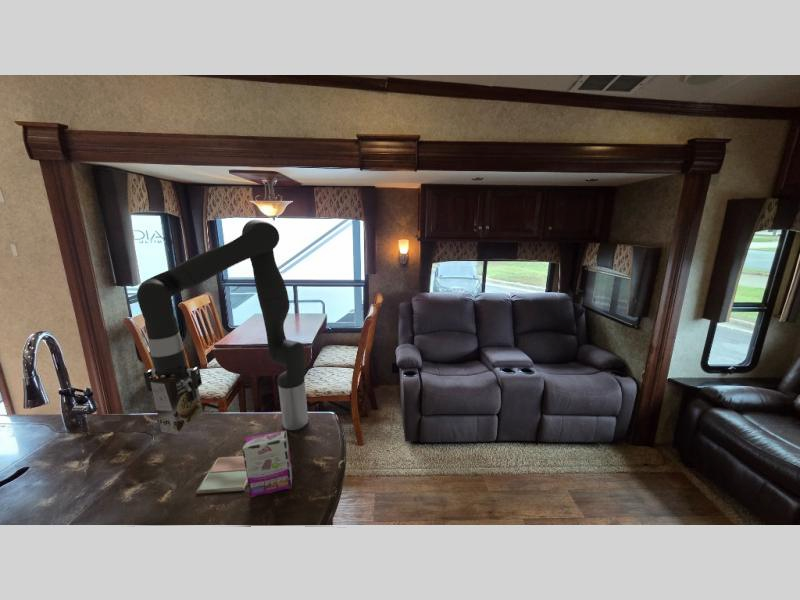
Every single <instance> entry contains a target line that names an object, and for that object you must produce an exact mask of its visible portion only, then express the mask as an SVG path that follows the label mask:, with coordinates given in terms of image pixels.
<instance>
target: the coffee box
mask: <svg viewBox="0 0 800 600" xmlns="http://www.w3.org/2000/svg"><path fill="white" fill-rule="evenodd" d="M189 378H191V376H189V373H187V375H185V376H184V378H182V377H179V378H171V377H167V378H165V379H160V378H158V377H156V379H155V380H154V381H152V382H150V383H151V387H152V391H151V392H152V395H153V399H154V405H155V408H156V413H157V417H158V421H159V425H160V426H159V427H160V431H161V432H163V433H169V434H175V435H180V434H181V433H183V432H185V430H187V429H188V428H189V427H191V426H192V425H193V424H194V423H196V422H197V421H198V420H200V419H202V417H204V410H203V405H202V401H201V396H200V391H199V390H200V389H199V387H198V388H197V389H196V393H197V398H196V399H195V400H194V401H193V402H189V399H188V394H187V390H186V389H185V388H184V387H182V386H181V382H180V380H183V381H184V382H185V381H186V380H187V379H189ZM191 380H192V379H191ZM188 384H189V382H188ZM189 385H190V384H189Z"/></svg>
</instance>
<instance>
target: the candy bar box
mask: <svg viewBox="0 0 800 600" xmlns="http://www.w3.org/2000/svg"><path fill="white" fill-rule="evenodd" d="M287 431H288V430H287V429H284V430H279V431H274V432H269V433H264V434H259V435H258V434H257V435H254V436H248V437H245V439H244V442H243V446H242V456H244V462H245V468H246V473H247V479H248V483H247V486H248V490H249V496H250V498H255V497H259V496H265V495H268V494H273V493H277V492H280V491H284V490H290V489H292V481H293V472H292V463H291V455H290V448H289V447H290V446H289V439H288V432H287Z"/></svg>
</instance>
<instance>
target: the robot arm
mask: <svg viewBox="0 0 800 600" xmlns="http://www.w3.org/2000/svg"><path fill="white" fill-rule="evenodd" d="M279 241H280V233H279V231H278V229H277V228H276V227H275V226H274V225H273V224H271V223H270V222H268V221H265V220H260V219H252V220H249V221H248V222H246V223H245V224H244V226H243V228H242V231H241V235H239V236H238V237H237V238H235V239H233V240H231V241H229V242H227V243H225V244H223V245H221V246H219V247H215V248H213V249H212V248H211V249H210V250H207V251H205V252H201V253H199V254H197V255H195V256H193V257H191V258H189V259H187V260H185V261H183V262H181V263H179V264H178V265H176V266H174V267H173V268H171V269H168V270H166V271H164V272H161V273H158V274H156V275H154V276H152V277H150V278H148V279H145V280H144V281H143V282H141V284H140V285H139V286H138V289H137V293H136V298H137V302H138V306H139V308H140V312H141V314H142V318H143V319H144V327H145V330H146V336H147V340H148V341H147V343H148V349H149V354H150V357H151V362H152V367H153V368H150V369H148V370H146V371H145V372H144V373H143V378H144V381H145V385H146V389H147V391H148V392H153V391H152V387H151V383H150V382H152V381H154V380H155V379H157V378H160V379H165V378H167V377H171V378H179V377H182V378H184V376H185V375H187V373H189V376H191V378H189V379H187V380H186V381H185V382H184V381H183V380H180V382H181V386H182V387H184V388H185V389H186V390H187V394H188V399H189V402H193V401H194V400H195V399H196V398H197V393H196V389H197V388H198V389H199V388H200V387H201V386H202V384H203V382H202V375H201V371H200V367H199V366H195V367H194V368H193V367H191V368H189V367H188V366H187V358H186V353H185V348H184V343H183V340H182V339H183V338H182V335H181V334H180V329H179V325H178V321H177V318H176V315H175V312H174V305H173V299H172V297H173V296H176V295H177V294H179V293H181V292H183V291H184V290H190V289H192V288H194V287H197V286H198V285H200V284H203V283H204V282H207V280H209V279H211V278H212V277H215V276H216V275H218V274H220V273H222V272H223V271H226V270H228V269H229V268H231V267H234V266H235V265H237V264H240V263H242V262H245V261H246V260H248V259H249V261H250V263H251V267H252V272H253V280H254V285H255V289H256V294H257V300H258V303H259V307H260V310H261V313H262V318H263V322H264V328H265V333H266V341H267V348H268V349H267V350H268V355H269V359H270V360H271V362H272V363H273V364H275V365H278V366H283V367H285V368H286V371H283V372H282V373H280V374H279V375H278V377H277V387H278V394H279V396H278V397H279V403H280V413H281V420H282V421H281V422H282V427H283V428H284V430H286V431H298V430H300V429H302V428H304V427H306V425H307V424H308V422H309V415H308V404H307V402H308V401H307V392H306V391H307V390H306V383H305V375H306V351H305V347H304V345H303V344H302V343H301V342H299V341H295V340H288V339H287V336H286V334H285V330H284V329H285V328H284V326H285V325H284V324H285V321H286V319H287V316H288V314H289V310H290V299H289V294H288V290H287V286H286V283H285V281H284V278H283V276H282V274H281V272H280V269H279V268H278V266H277V265H278V264H277V263H276V259H275V253H274V249H275V248H276V247H277V245H278V244H279ZM191 379H192V380H191ZM188 382H189V384H190V385H189V384H188Z"/></svg>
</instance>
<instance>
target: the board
mask: <svg viewBox="0 0 800 600" xmlns="http://www.w3.org/2000/svg"><path fill="white" fill-rule="evenodd" d="M247 486H248V479H247V473H246V468H245V462H244V456H243V455H239V456H222V457H220V456H219V457H217V459H216V460H215V462H214V463H213V465H212V466H211V468H210V470H209V471H208V473H207V474H206V476H205V477H204V479H203V480H202V482H201V484H200V485H199V487H198V488H197V490H196V491H195V492H196V494H198V495H199V494H211V493H213V494H214V493H226V492H227V493H228V492H238V491H239V492H241V491H245V489H246V487H247Z"/></svg>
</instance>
